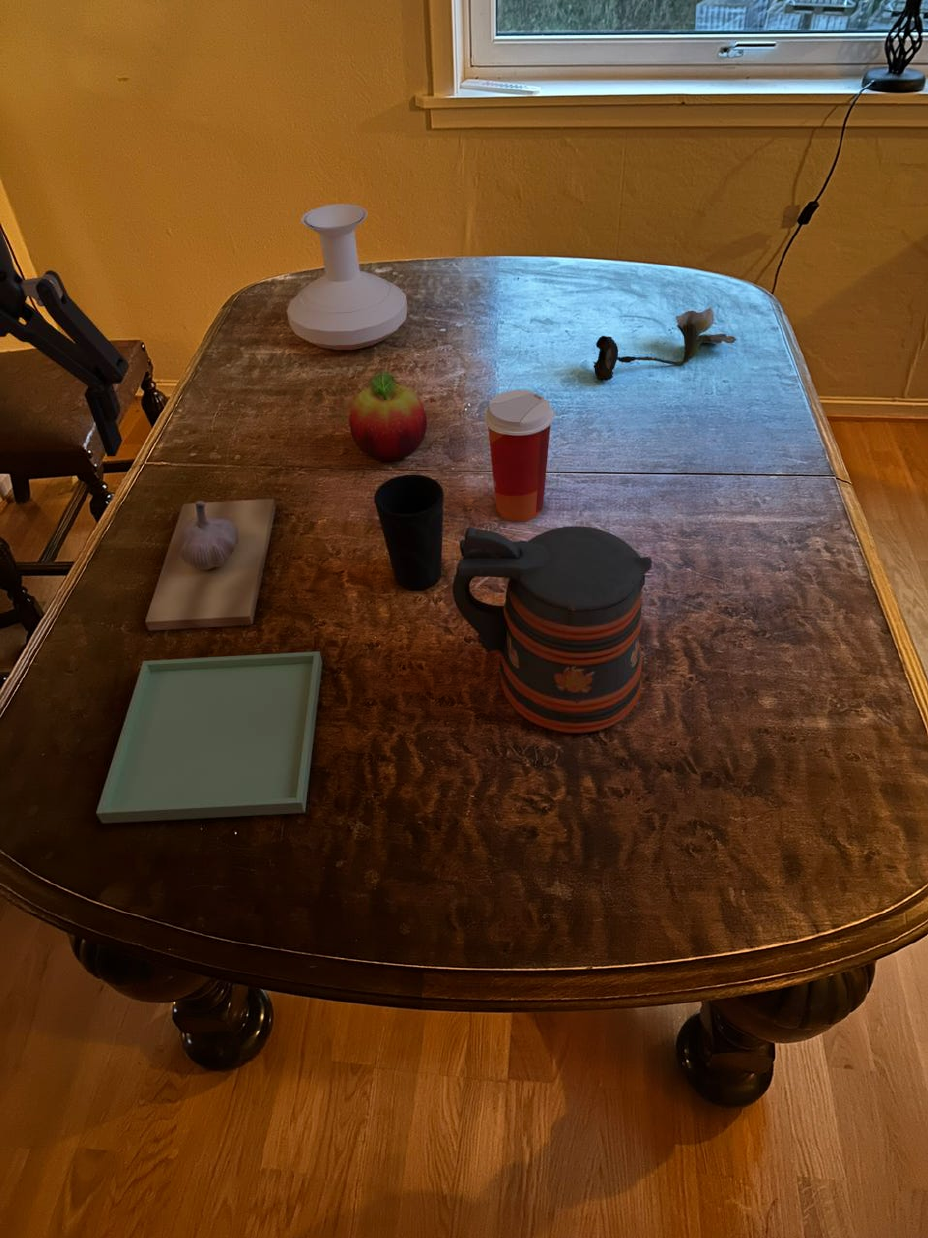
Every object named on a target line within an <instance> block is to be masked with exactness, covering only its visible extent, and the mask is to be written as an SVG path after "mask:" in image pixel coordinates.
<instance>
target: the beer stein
mask: <svg viewBox="0 0 928 1238" xmlns="http://www.w3.org/2000/svg"><path fill="white" fill-rule="evenodd" d="M459 551H460V554H461V557H462V559H460V560H459V561H458V564H457V565H456V569H455V571H456V572H455V574H454V579H453V581H452V596H453V600H454V603H455V606H456V607H457V610H458V611H459V613H460V614H461V616H462V617H463V618H464V620H465V621H466V622H467V623H468V625H469V626H470V627H471V628H472V629H473V630H474V631H475V632H476V633H477V634H478V636H477V644H478V645H479V647H481V648H483V649H484V650H485V651H486V652H487V653H490V652H491V651H498V653H499V661H498V662H499V663H498V665H499V668H498V672H499V675H500V683H501V687H502V690H503V694H504V696H505V697H506V699H507V701H508V702H509V703H510V705H511V707H513V708H514V710H516V711H517V713H518V714H520V716H522V717H523V718H524V719H525V720H526V721H528V722H531V723H533V724H535V725H537V726H539V727H541V728H544V729H547V730H551V731H553V732H554V731H555V732H559V733H564V734H565V733H566V734H589V733H595V732H599V731H603V730H605V729H608V728H610V727H612V726H615V725H616V724H618V723H619V722H620V721H622V720H623V719H625V718H626V716H627V715H629V714H630V712H631V711H632V710H633V708H635V706H636V704H637V703H638V700H639V698H640V696H641V692H642V689H643V679H642V671H643V670H642V668H643V655H642V648H641V643H640V641H639V640H640V639H639V638H640V637H639V634H640V632H641V629H642V621H643V620H642V619H643V618H642V617H643V612H642V611H643V609H642V608H643V607H642V605H643V603H642V597H643V587H644V586H645V583H646V574H647V573H648V572H649V571H650V570H651V568H652V563H653V559H652V558H651V557H648V556H645V557H641V555H639V553H638V552H637V551H636V550H635V549H634V548H633V547H632V546H631V545H630V544H629V543H627V542H626V541H624V540H623V539H622V538H620V537H619V536H617V535H615V534H613V533H611V532H609V531H606V530H603V529H600V528H596V527H591V526H584V525H583V526H582V525H573V526H572V525H571V526H561V527H556V528H552V529H550V530H546V531H543V532H542V533H540V534H537V535H535V536H534V537H532V538H530V539H529V540H527V541H526V540H518V541H512V540H510V539H509V538H508V537H506V536H504V535H503V534H500V533H497V532H495V531H492V530H488V529H487V530H486V529H476V528H474V527H472V526H470V527H467V528H466V529H465V532H464V539H461V540H460V541H459ZM476 577H477V578H501V579H502V578H503V579H504V578H505V579H508V581H507V584H506V586H507V587H506V591H505V597H504V598H505V601H504V604H503V605H497V604H496V605H495V604H490V603H487V602H483V601H482V600H479V599H478V598H476V596H474V595H473V594H472V592H471V590H470V586H471V585H470V584H471V582H472V580H473V579H474V578H476Z"/></svg>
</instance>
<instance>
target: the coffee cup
mask: <svg viewBox="0 0 928 1238" xmlns="http://www.w3.org/2000/svg"><path fill="white" fill-rule="evenodd" d="M487 405H488V406H487V409H485V413H484V421H485V423H486V425H487V431H488V440H489V451H490V460H491V470H492V471H491V472H492V481H493V488H494V489H493V491H494V498H495V499H494V500H495V506H496V510H497V513H498V514H499V515H500V517H502V518H504V519H505V520H508V521H512V522H526V521H531V520H533V519H535V518H537V517H538V516H539V515H540V514H541V513H542V511H543V506H544V501H545V500H544V499H545V489H546V479H547V471H548V470H547V468H548V458H549V457H548V456H549V446H550V445H549V444H550V434H551V424H552V423H553V421H554V419H555V412H554V411H553V408H552V407H551V403H550V401H549V400H548V399H547V398H546V399H545V397H544V396H542V395H540V394H538V393H535V392H534V391H532V390H527V389H514V390H508V391H504V392H502V393H498V394H497V395H496V396H494V397H493V398H492V399H491V400H490V401H489V403H488V404H487Z"/></svg>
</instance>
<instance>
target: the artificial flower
mask: <svg viewBox="0 0 928 1238" xmlns="http://www.w3.org/2000/svg"><path fill="white" fill-rule="evenodd" d="M675 321H676V323H677V325H676V327H677V329H678V330H679V331H680V332H681V334H682V336H683V342H684V353H683V359H682V361H674V360H669V359H661V358H658V357H652V356H643V357H642V356H638V357H637V356H631V355H626V356H622V357H621V356H619V348H618V345H617V343H616V342H615V340H614V339H613V337H612V336H607V335H601V336H600V337H599V338H598V340H597V341H596V343H595V347H596V348H597V349H599V352H598V357H597V361H593V362H592V363H593V364H594V365H593V366H592V367H593V371H594V375H595V377H596V379H597V380H600V381H605V382H608V381H609V380H611V379H613V377H614V372H613V371H614V369H615V367H616V364H617V361H619V362H620V363H625V364H626V363H627V364H629V363H632V362H634V361H644V362H645V361H648V362H651V361H654V362H660V363H662V364H668V365H674V366H684V365H685V364H686V363H688V362H689V361H690V360H692V359H693V358H695V357H696V356H697V355H698V353H699V348H700V346H701V345H702V344H705V343H712V344H717V345H720V344H723V342H724V343H726V344H734V343H735V341H737V340H738V339H737V338H736V337H735V336H733V335H729V336H727V335H726V333H717V334H711V333H707V334H705V333H706V332H707V331H708V330H709V329H710V328H711V327H712V326H713V325H714V321H715V314H714V311H713V308H712V306H710V307H709V308H707V309H705V310H703V311H700V312H698V311H695V310H687V311H686V312H684V313H682V314H680V315H676V316H675ZM702 333H703V334H702Z"/></svg>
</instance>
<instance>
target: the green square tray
mask: <svg viewBox="0 0 928 1238" xmlns="http://www.w3.org/2000/svg"><path fill="white" fill-rule="evenodd" d="M322 667H323V659H322V655H321V652H320V651H300V652H284V653H282V652H281V653H264V654H247V655H246V654H245V655H244V654H243V655H228V656H209V657H192V658H176V659H175V658H173V659H156V660H143V661H142V665H141V667H140V671H139V674H138V677H137V680H136V682H135V686H134V690H133V693H132V697H131V699H130V702H129V706H128V709H127V712H126V716H125V719H124V722H123V726H122V728H121V732H120V735H119V738H118V742H117V745H116V748H115V751H114V754H113V757H112V760H111V764H110V768H109V770H108V774H107V776H106V780H105V784H104V785H103V786H104V787H103V789H102V792H101V796H100V799H99V803H98V805H97V808H96V812H95V814H96V816H97V817H98V819H99V820H100V822H101V824H120V823H138V822H139V823H140V822H157V821H177V820H198V819H216V818H217V819H218V818H234V817H254V816H273V815H274V816H275V815H287V814H288V815H290V814H291V815H293V814H305V813H306V807H307V798H308V791H309V789H308V788H309V780H310V773H311V764H312V754H313V745H314V739H315V730H316V729H315V728H316V721H317V720H316V719H317V712H318V703H319V695H320V694H319V693H320V685H321V678H322V677H321V676H322V669H323V668H322Z"/></svg>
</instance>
